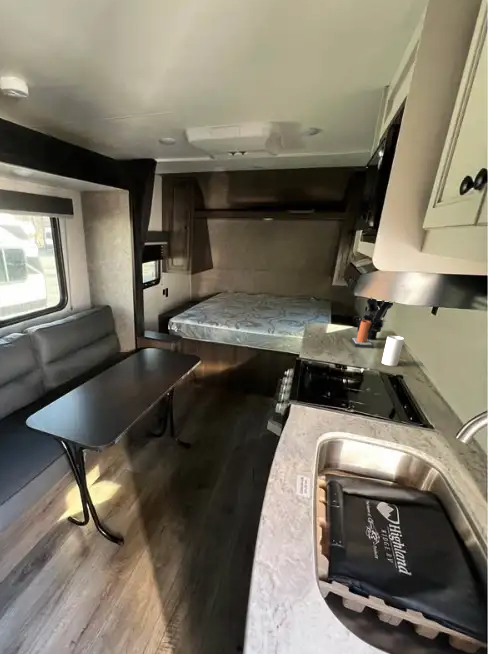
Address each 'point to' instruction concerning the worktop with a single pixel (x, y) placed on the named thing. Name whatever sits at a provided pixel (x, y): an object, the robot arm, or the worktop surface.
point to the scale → (360, 344)
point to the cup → (392, 350)
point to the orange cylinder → (363, 331)
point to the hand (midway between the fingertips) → (363, 331)
